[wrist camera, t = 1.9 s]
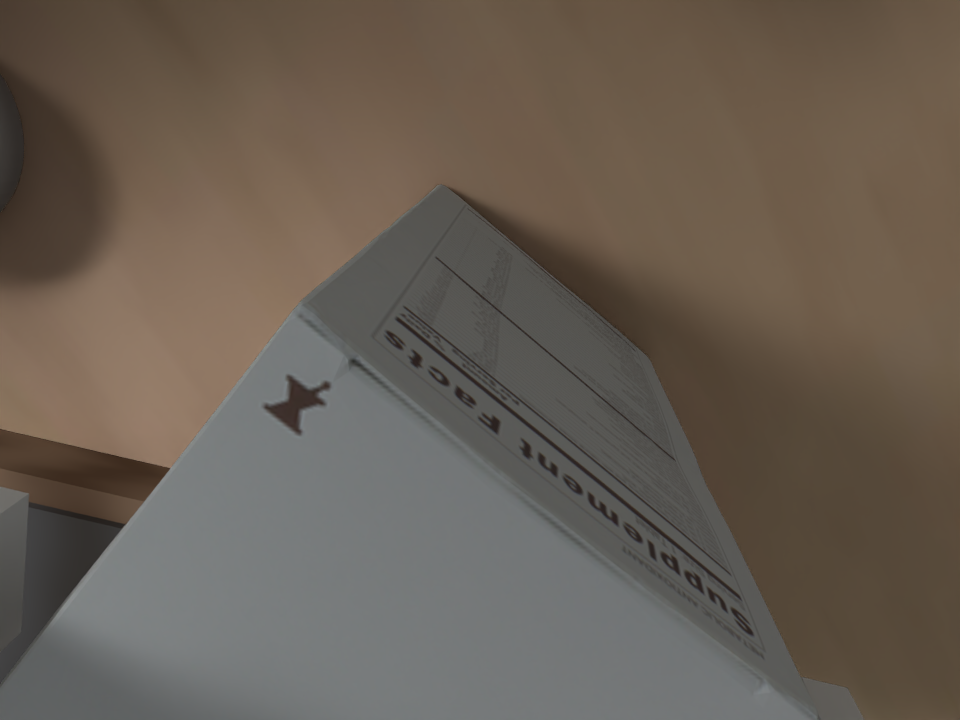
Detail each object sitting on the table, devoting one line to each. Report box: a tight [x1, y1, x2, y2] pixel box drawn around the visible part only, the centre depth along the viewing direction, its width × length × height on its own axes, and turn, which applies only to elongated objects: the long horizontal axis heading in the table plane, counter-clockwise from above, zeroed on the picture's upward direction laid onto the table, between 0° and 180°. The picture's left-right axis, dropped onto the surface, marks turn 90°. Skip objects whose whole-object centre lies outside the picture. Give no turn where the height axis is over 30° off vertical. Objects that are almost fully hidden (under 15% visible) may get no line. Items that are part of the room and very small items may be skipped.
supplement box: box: [0, 184, 818, 720], centre depth 19 cm, size 10×9×17 cm
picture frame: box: [0, 429, 170, 684], centre depth 30 cm, size 16×16×3 cm
